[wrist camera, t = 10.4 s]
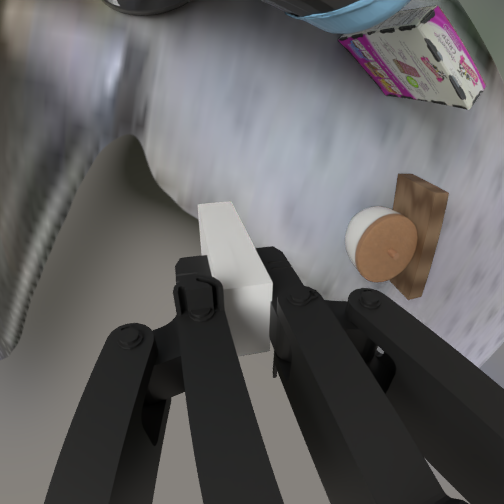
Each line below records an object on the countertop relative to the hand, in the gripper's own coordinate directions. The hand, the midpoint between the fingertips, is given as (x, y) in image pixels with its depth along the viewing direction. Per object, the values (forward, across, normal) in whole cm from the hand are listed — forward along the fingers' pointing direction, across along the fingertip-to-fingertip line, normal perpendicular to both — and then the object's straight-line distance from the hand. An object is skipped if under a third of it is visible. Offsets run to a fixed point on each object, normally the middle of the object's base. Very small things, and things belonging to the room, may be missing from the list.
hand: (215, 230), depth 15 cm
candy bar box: (+27, +25, +12) cm, 38 cm away
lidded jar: (+27, +26, -14) cm, 40 cm away
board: (+26, +33, -14) cm, 45 cm away
